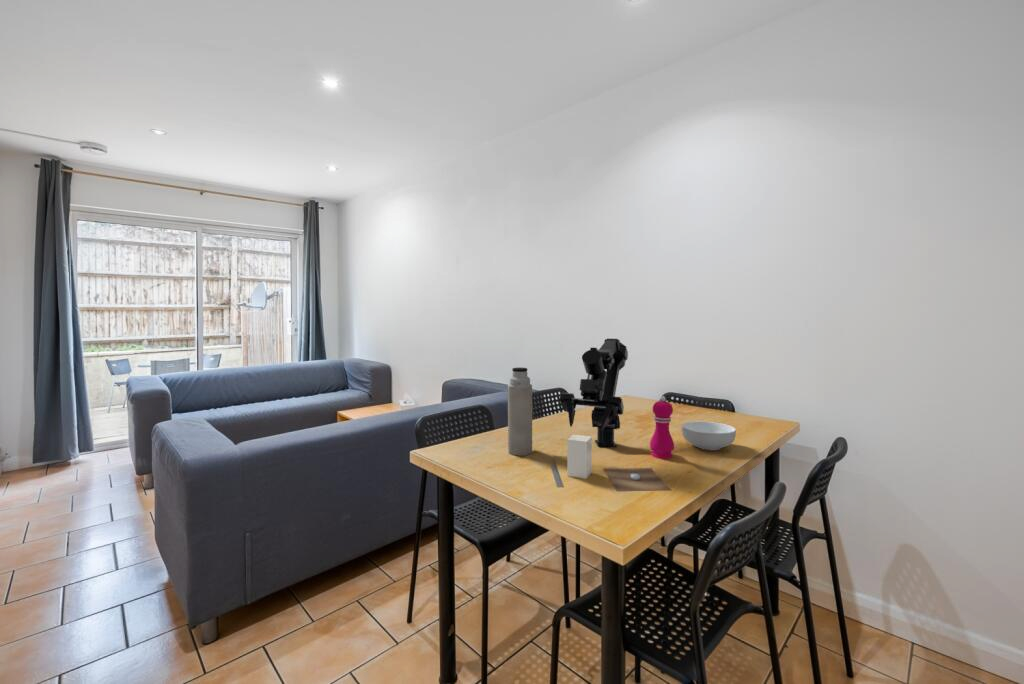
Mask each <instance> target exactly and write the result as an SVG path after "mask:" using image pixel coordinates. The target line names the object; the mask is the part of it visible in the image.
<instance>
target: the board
mask: <svg viewBox="0 0 1024 684" xmlns="http://www.w3.org/2000/svg"><path fill="white" fill-rule="evenodd" d="M602 470H603V472H604V474H606V476H607V478H608V479H609V481H610V482H611V484H612V486H613V487H614V489H615V491H616V492H642V491H643V492H644V491H645V492H649V491H650V492H651V491H652V492H653V491H659V492H660V491H662V492H663V491H672V489H671V488H670V486H668V485H667V484H666V482H665V481H663V479H662V478H661V477H660V476H659V475H658V474H657V473H656V472H655V471H654V470H653V468H652V467H639V468H638V467H637V468H636V467H633V468H632V467H631V468H629V467H628V468H626V467H625V468H619V467H618V468H602ZM631 474H639V475H640V480H632V479H631Z"/></svg>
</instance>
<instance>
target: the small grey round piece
mask: <svg viewBox="0 0 1024 684" xmlns="http://www.w3.org/2000/svg"><path fill="white" fill-rule="evenodd" d="M631 479H632V480H640V475H639V474H631Z"/></svg>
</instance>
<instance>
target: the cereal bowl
mask: <svg viewBox="0 0 1024 684" xmlns="http://www.w3.org/2000/svg"><path fill="white" fill-rule="evenodd" d="M680 429H681V435H682V437H683V439H685V441H686V442H688V443H689V444H691V445H693V446H695V447H696V448H697V447H698V449H700V448H701V450H704V449H706V451H719V450H721V449H722V448H725V447H728V446H730V445H732V444H733V443H734V441H735V439H736V435H737V433H736V432H737V430H736V428H735V427H734V426H732V425H729V424H725V423H720V422H715V421H714V422H713V421H701V420H699V421H698V420H697V421H689V422H688V421H687V422H683V423H682V424H681V428H680Z"/></svg>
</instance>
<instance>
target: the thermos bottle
mask: <svg viewBox="0 0 1024 684" xmlns="http://www.w3.org/2000/svg"><path fill="white" fill-rule="evenodd" d="M507 442H508V443H507V452H508V454H510V455H512V454H513V455H512V456H517V455H523V456H527V455H528V454H529V455H531V454H532V453H533V384H532V383H531V378H530V377H529V376H528V368H527V367H513V368H512V376H511V377H510V378H509V384H508V385H507Z"/></svg>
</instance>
